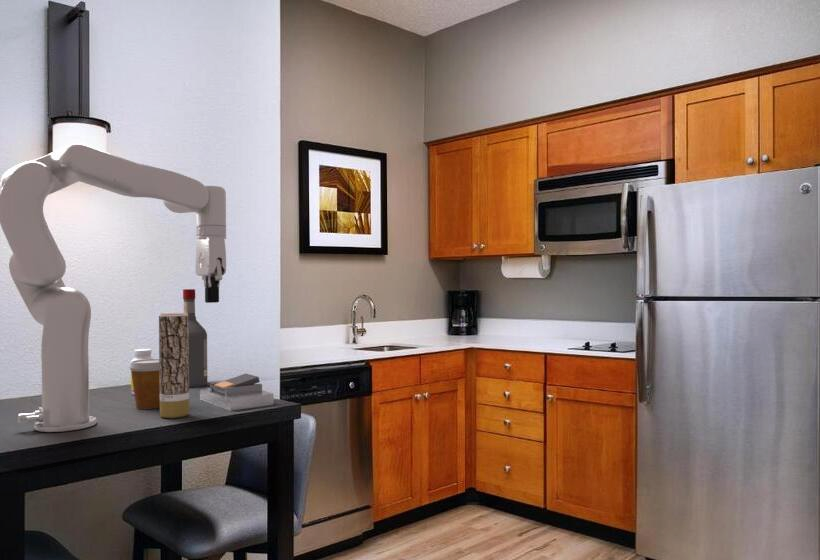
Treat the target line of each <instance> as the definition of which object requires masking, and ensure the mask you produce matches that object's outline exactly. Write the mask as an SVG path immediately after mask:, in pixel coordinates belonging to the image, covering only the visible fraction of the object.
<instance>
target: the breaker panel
mask: <svg viewBox="0 0 820 560" xmlns="http://www.w3.org/2000/svg"><path fill="white" fill-rule="evenodd" d="M220 382H221V381H217V382H210V383H209V387H204V388H199V400H200V401H202V400H203V402H205V403H207V404H211V405H214V406H216V407H218V408H220V409H221V408H222V409H225V410H227V411H230V412H231V411H238V410H246V409H253V408H260V407H268V406H273V405H274V393H273V392H270V391H266V390H263V384H262V383H256V384H253V385H244V386H235V387H227V388H225V394H222V393H219V392H216V391H213V388H212V385H214V384H217V383H220Z"/></svg>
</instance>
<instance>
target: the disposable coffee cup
mask: <svg viewBox="0 0 820 560" xmlns="http://www.w3.org/2000/svg"><path fill="white" fill-rule="evenodd" d="M131 361H132V360H131ZM131 361H130V365H129V370H130V374H131V373H132V381H133V387H134V394H135V395H134V401H135V407H136V409H138V410H151V408H153V409H157V408H158V407H159V408H160V386H159V358H153V359H144V360H135V361H132V362H131Z"/></svg>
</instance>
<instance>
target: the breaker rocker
mask: <svg viewBox="0 0 820 560" xmlns="http://www.w3.org/2000/svg"><path fill="white" fill-rule="evenodd" d="M219 382H220V383H217V384H214V385H212V388H213V391H216V392H219V393H222V394H225V388H227V387H235V386H244V385H253V384H260V377H259V376H257V375H253V374H248V373H243V374H241V375H237V376H235V377H232V378H229V379H226V380H223V381H219Z"/></svg>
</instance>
